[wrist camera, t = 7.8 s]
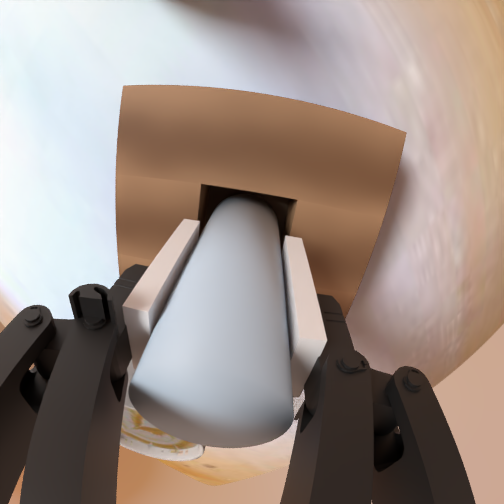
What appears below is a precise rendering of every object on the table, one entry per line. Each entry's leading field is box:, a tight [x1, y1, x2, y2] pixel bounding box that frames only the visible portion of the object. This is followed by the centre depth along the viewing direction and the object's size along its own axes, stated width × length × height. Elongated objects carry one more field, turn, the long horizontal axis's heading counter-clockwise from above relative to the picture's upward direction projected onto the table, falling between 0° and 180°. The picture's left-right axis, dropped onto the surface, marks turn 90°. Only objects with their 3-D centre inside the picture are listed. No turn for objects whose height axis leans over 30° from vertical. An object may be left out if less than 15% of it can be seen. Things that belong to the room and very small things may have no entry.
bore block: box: [116, 85, 406, 318], centre depth 17 cm, size 15×15×4 cm
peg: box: [128, 194, 294, 448], centre depth 11 cm, size 4×4×12 cm
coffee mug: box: [120, 359, 205, 461], centre depth 21 cm, size 13×10×10 cm
